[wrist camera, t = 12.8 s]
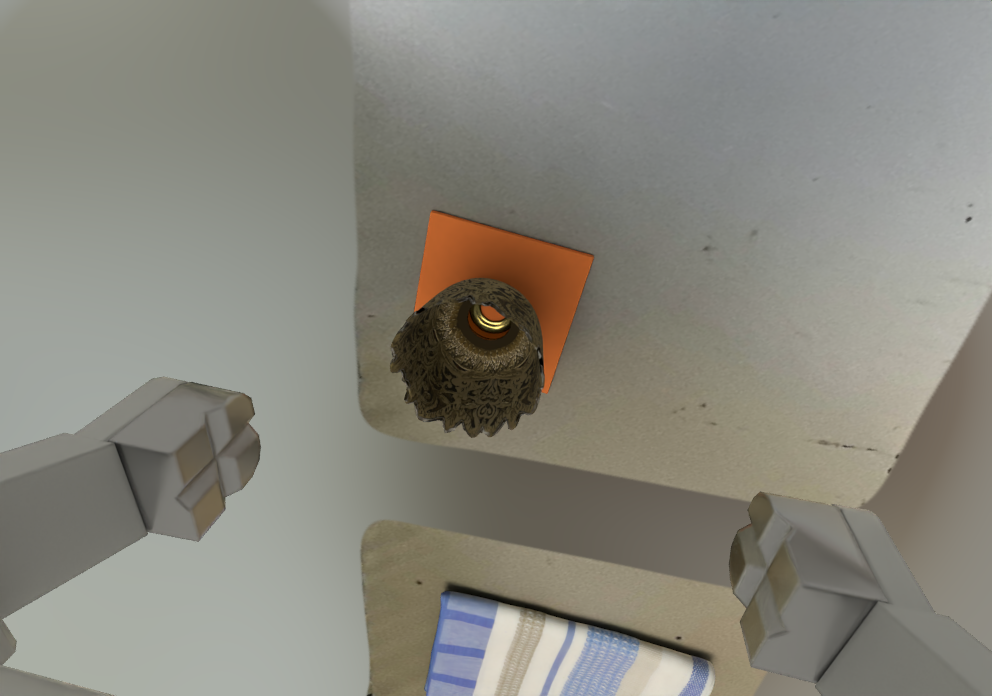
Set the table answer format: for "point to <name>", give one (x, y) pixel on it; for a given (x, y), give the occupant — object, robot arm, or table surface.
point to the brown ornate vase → (472, 358)
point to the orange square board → (507, 274)
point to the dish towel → (549, 656)
